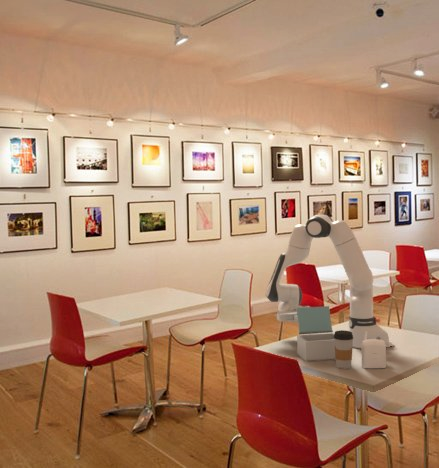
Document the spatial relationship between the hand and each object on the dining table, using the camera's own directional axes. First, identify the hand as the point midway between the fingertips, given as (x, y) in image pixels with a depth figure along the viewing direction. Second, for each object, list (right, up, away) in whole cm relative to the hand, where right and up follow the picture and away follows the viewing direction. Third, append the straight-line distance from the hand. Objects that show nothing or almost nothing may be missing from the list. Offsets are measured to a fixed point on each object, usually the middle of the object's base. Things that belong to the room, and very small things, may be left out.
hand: (301, 319), depth 258 cm
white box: (+7, -16, -11) cm, 20 cm away
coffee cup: (+14, -17, -26) cm, 34 cm away
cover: (+5, 0, -5) cm, 7 cm away
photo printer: (+27, -17, -28) cm, 42 cm away
